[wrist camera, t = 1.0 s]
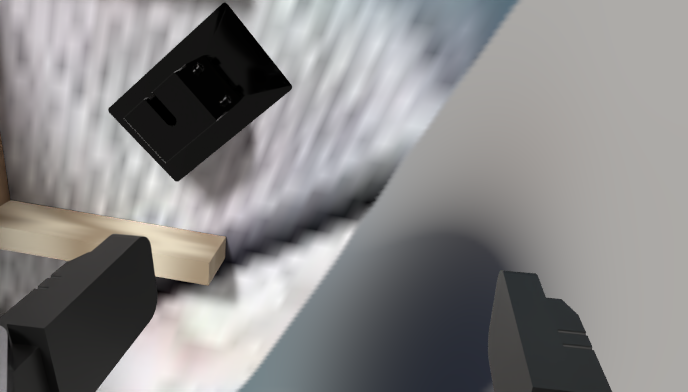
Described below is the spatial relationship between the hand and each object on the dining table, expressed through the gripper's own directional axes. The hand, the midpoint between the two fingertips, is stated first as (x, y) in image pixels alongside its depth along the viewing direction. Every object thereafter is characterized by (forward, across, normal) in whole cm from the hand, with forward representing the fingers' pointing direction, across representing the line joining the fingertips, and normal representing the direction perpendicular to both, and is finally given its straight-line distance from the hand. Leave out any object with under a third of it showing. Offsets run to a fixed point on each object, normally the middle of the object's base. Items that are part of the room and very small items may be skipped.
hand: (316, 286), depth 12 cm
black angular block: (+18, +10, 0) cm, 20 cm away
